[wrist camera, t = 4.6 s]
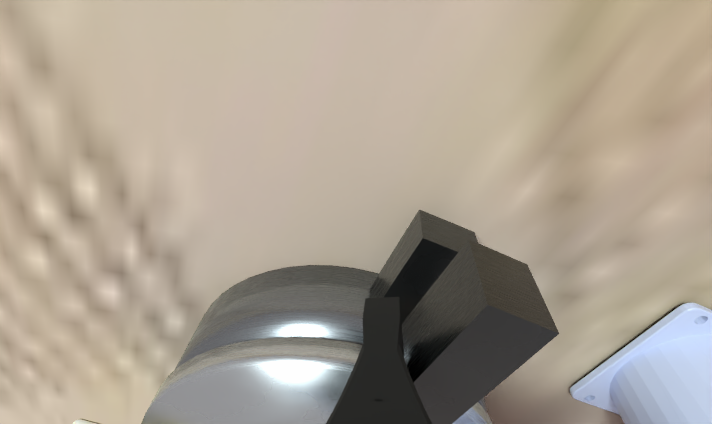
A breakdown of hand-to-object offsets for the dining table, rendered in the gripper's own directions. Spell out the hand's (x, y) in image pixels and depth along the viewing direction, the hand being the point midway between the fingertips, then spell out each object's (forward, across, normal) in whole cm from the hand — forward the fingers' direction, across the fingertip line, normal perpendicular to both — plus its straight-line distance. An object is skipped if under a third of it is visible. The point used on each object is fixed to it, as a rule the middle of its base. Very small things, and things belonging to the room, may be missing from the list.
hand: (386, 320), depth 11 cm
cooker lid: (+1, +2, +8) cm, 8 cm away
